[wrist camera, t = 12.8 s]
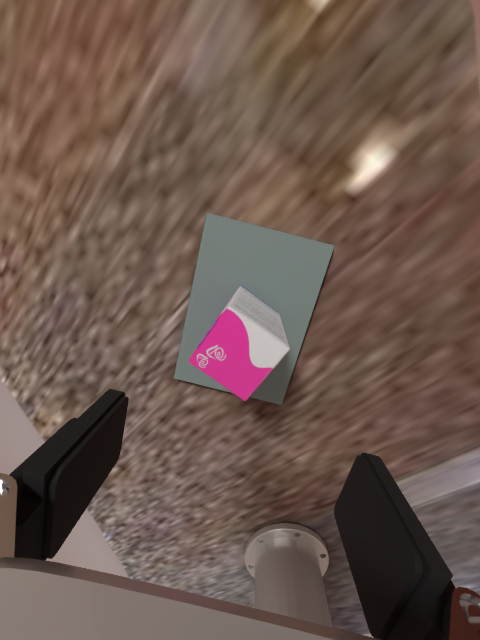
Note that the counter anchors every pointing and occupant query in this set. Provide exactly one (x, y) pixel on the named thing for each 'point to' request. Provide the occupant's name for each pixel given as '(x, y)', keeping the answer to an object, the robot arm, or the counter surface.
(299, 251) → the rubber mat
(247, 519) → the counter surface
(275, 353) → the supplement box
